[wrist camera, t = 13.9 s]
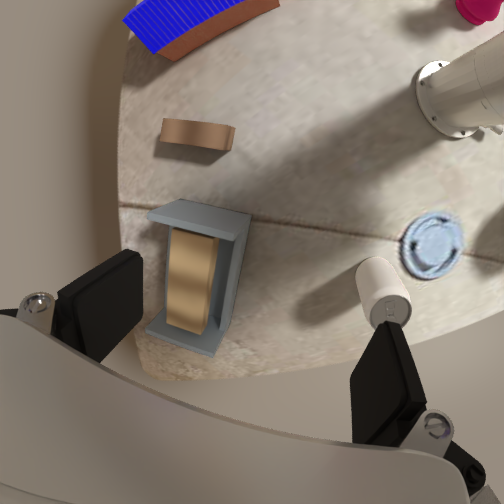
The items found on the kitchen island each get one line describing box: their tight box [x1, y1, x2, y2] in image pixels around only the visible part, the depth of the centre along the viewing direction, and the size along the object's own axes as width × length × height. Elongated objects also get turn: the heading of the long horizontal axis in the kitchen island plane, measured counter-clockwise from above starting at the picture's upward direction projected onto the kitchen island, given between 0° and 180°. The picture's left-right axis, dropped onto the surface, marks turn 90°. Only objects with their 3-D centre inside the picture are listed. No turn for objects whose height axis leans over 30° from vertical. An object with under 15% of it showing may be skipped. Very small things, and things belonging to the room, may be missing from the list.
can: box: [355, 257, 412, 330], centre depth 36 cm, size 6×6×12 cm
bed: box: [145, 199, 252, 358], centre depth 42 cm, size 12×20×10 cm, turn 169°
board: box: [166, 227, 220, 335], centre depth 40 cm, size 16×6×3 cm, turn 169°
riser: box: [160, 118, 235, 150], centre depth 37 cm, size 10×4×4 cm, turn 79°
